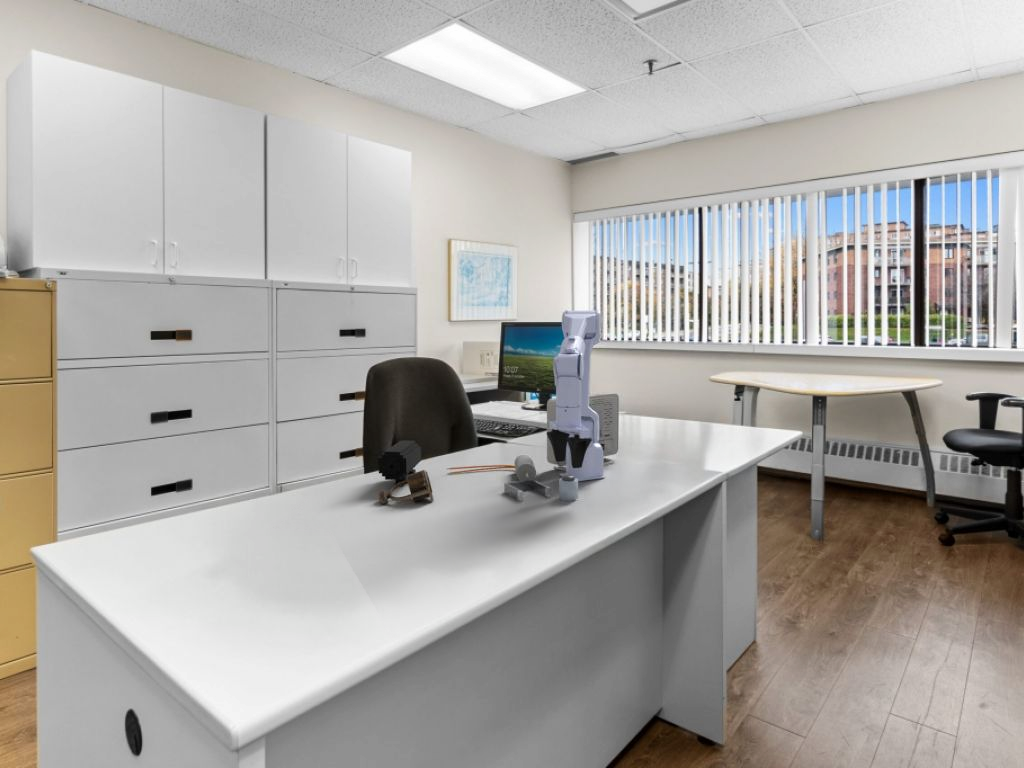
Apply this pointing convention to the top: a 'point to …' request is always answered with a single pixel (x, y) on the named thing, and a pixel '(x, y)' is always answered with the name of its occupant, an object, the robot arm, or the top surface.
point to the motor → (522, 466)
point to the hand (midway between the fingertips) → (568, 464)
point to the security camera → (399, 461)
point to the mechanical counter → (411, 488)
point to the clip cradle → (525, 488)
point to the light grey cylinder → (568, 488)
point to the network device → (608, 419)
